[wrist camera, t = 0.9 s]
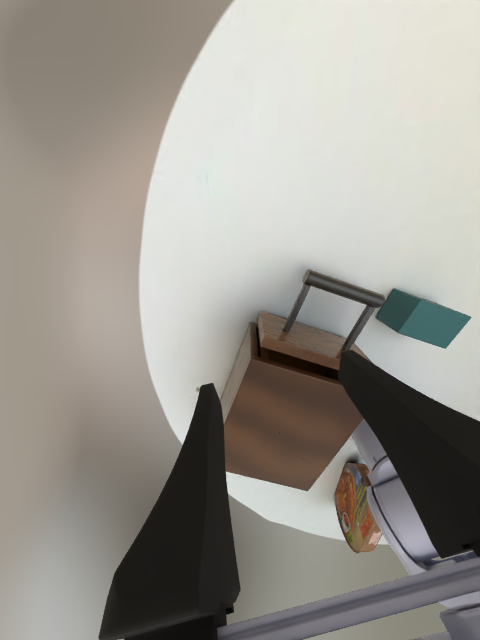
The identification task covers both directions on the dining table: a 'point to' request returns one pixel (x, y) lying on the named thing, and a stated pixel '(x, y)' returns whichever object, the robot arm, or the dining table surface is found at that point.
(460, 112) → the dining table surface
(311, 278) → the drawer
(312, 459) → the cabinet
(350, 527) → the tin
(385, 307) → the tea box
